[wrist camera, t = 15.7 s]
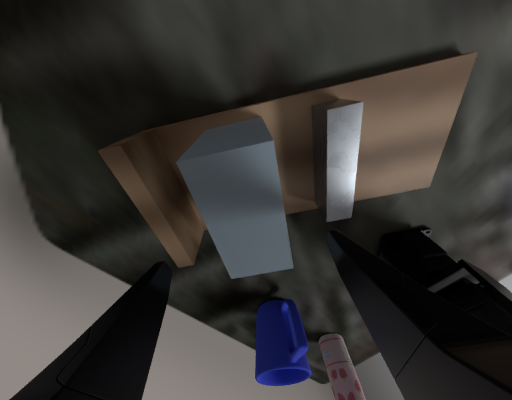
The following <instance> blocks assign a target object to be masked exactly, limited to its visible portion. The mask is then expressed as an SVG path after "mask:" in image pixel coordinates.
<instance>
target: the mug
mask: <svg viewBox="0 0 512 400" xmlns="http://www.w3.org/2000/svg"><path fill="white" fill-rule="evenodd" d="M307 350H308V342H307V338H306V335H305V331H304V328H303V324H302V321H301V318H300V315H299V312H298V309H297V307H296V305H295V303H294V302H293V301H292V300H290V299H285V300H284V301H282V300H271V301H267V302H265V303H263V304H262V305H261V306H260V307H259V309H258V311H257V325H256V370H255V379H256V381H257V382H258V383H260V384H263V385H270V386H283V385H291V384H295V383H299V382H302V381H304V380H306V379H308V378H309V377H310V376H311V370H310V366H309V363H308V359H307V356H306V351H307Z"/></svg>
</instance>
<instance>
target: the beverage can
mask: <svg viewBox="0 0 512 400" xmlns="http://www.w3.org/2000/svg"><path fill="white" fill-rule="evenodd" d="M319 345H320V348H321V352H322V355H323V359H324V362H325V365H326V369H327V372H328V376H329V379H330V383H331V386H332V390H333V393H334V397H335V400H366V398H365V396H364V393H363V390H362V388H361V385H360V383H359V380H358V377H357V374H356V372H355V369H354V367H353V364H352V361H351V359H350V356H349V354H348V351H347V348H346V346H345V343H344V340H343V338H342V336H340V335H339V334H336V333H331V334H326V335H323V336H322V337H320V340H319Z"/></svg>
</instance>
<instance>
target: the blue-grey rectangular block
mask: <svg viewBox="0 0 512 400" xmlns="http://www.w3.org/2000/svg"><path fill="white" fill-rule="evenodd" d="M176 164H177V166H178V168H179V170H180V172H181V174H182V176H183V178H184V180H185V182H186V185H187V187H188V189H189V191H190V193H191V195H192V197H193V199H194V201H195V203H196V206H197V208H198V210H199V212H200V214H201V216H202V218H203V220H204V222H205V225H206V227H207V229H208V231H209V233H210V235H211V237H212V239H213V241H214V243H215V246H216V248H217V250H218V252H219V254H220V256H221V258H222V260H223V262H224V265H225V267H226V269H227V271H228V273H229V275H230V277H231V279H234V278H240V277H246V276H251V275H257V274H263V273H269V272H275V271H280V270H286V269H292V268H293V262H292V256H291V250H290V243H289V237H288V230H287V224H286V217H285V211H284V204H283V198H282V191H281V185H280V178H279V172H278V165H277V159H276V152H275V146H274V140H273V138H272V136H271V134H270V132H269V130H268V128H267V126H266V124H265V122H264V120H263V119H262V117H258V118H254V119H250V120H245V121H241V122H237V123H233V124H229V125H224V126H220V127H216V128H212V129H207V130H205V131H204V132H203V134H202V135H201V136H200V137H199V138H198V139H197V140H196V141H195V142H194V143H193V144H192V145H191V147H190V148H189V149H188V150H187V151H186V152H185V153H184V154H183V155H182V156H181V157H180V159H179V160H178V161H177V162H176Z"/></svg>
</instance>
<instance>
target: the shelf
mask: <svg viewBox="0 0 512 400" xmlns="http://www.w3.org/2000/svg"><path fill="white" fill-rule="evenodd" d="M477 54H478V52H473V53H466V54H460V55H456V56H452V57H448V58H444V59H440V60H435V61H431V62H427V63H423V64H419V65H415V66H410V67H406V68H402V69H398V70H394V71H390V72H385V73H381V74H377V75H373V76H369V77H365V78H360V79H356V80H352V81H348V82H344V83H340V84H335V85H331V86H327V87H323V88H319V89H315V90H310V91H306V92H302V93H298V94H294V95H290V96H285V97H281V98H277V99H273V100H269V101H265V102H260V103H256V104H252V105H248V106H244V107H240V108H235V109H231V110H227V111H223V112H219V113H215V114H210V115H206V116H202V117H198V118H194V119H190V120H185V121H181V122H177V123H173V124H169V125H165V126H160V127H156V128H152V129H148V130H144V131H141V132H139V133H137V134H134V135H132V136H130V137H128V138H125V139H123V140H121V141H118V142H116V143H114V144H111V145H109V146H107V147H104V148H102V149H100V150H97V151H98V153H99V154H100V155H101V157H102V158H103V160H104V161H105V163H106V164H107V166H108V167H109V168H110V170H111V171H112V173H113V174H114V176H115V177H116V178H117V180H118V181H119V183H120V184H121V186H122V187H123V189H124V190H125V191H126V193H127V194H128V196H129V197H130V199H131V200H132V201H133V203H134V204H135V206H136V207H137V209H138V210H139V211H140V213H141V214H142V216H143V217H144V219H145V220H146V222H147V223H148V224H149V226H150V227H151V229H152V230H153V232H154V233H155V234H156V236H157V237H158V239H159V240H160V242H161V243H162V245H163V246H164V247H165V249H166V250H167V252H168V253H169V255H170V256H171V257H172V259H173V260H174V262H175V263H176V265H177V266H178V267H184V266H190V265H194V263H195V259H196V256H197V252H198V249H199V245H200V242H201V239H202V235H203V232H204V230H208V229H207V227H206V225H205V222H204V220H203V218H202V216H201V214H200V212H199V210H198V208H197V206H196V203H195V201H194V199H193V197H192V195H191V193H190V191H189V189H188V187H187V185H186V182H185V180H184V178H183V176H182V174H181V172H180V170H179V168H178V166H177V164H176V162H177V161H178V160H179V159H180V157H181V156H182V155H183V154H184V153H185V152H186V151H187V150H188V149H189V148H190V147H191V145H192V144H193V143H194V142H195V141H196V140H197V139H198V138H199V137H200V136H201V135H202V134H203V132H204V131H205V130H207V129H212V128H216V127H220V126H224V125H229V124H233V123H237V122H241V121H245V120H250V119H254V118H258V117H262V119H263V120H264V122H265V124H266V126H267V128H268V130H269V132H270V134H271V136H272V138H273V140H274V146H275V152H276V159H277V165H278V172H279V178H280V185H281V191H282V198H283V204H284V211H285V215H286V214H292V213H297V212H302V211H307V210H312V209H318V207H317V205H316V203H315V190H314V162H313V134H312V106H311V105H316V104H320V103H324V102H328V101H333V100H337V99H347V100H354V101H362V102H364V104H363V114H362V123H361V133H360V143H359V152H358V162H357V172H356V181H355V191H354V201H359V200H364V199H369V198H374V197H380V196H385V195H390V194H395V193H400V192H405V191H411V190H416V189H421V188H426V187H430V184H431V182H432V179H433V176H434V173H435V171H436V168H437V165H438V162H439V159H440V157H441V154H442V151H443V148H444V146H445V143H446V140H447V137H448V135H449V132H450V129H451V126H452V123H453V121H454V118H455V115H456V112H457V110H458V107H459V104H460V101H461V99H462V96H463V93H464V90H465V87H466V85H467V82H468V79H469V76H470V74H471V71H472V68H473V65H474V62H475V60H476V57H477ZM354 201H353V202H354Z"/></svg>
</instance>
